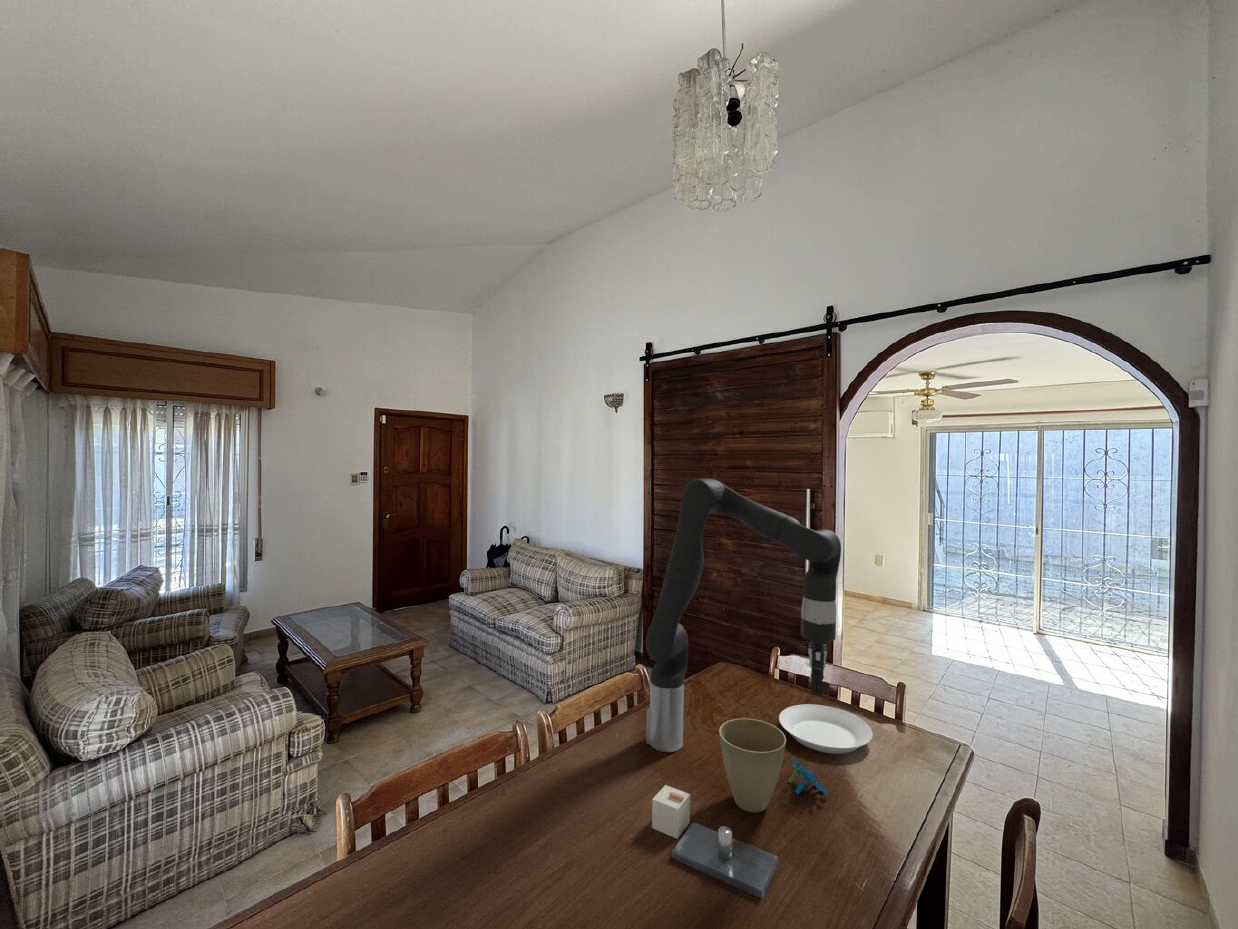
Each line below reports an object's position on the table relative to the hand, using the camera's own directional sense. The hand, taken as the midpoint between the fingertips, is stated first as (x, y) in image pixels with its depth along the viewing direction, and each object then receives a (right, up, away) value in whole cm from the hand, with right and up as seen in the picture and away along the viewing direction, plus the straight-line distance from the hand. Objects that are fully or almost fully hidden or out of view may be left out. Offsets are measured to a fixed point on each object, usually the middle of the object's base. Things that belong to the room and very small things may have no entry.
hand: (816, 687), depth 124 cm
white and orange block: (-34, -26, -8) cm, 44 cm away
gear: (0, -27, +5) cm, 28 cm away
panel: (-25, -27, -18) cm, 41 cm away
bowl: (+13, -27, +30) cm, 43 cm away
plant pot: (-15, -27, 0) cm, 31 cm away
